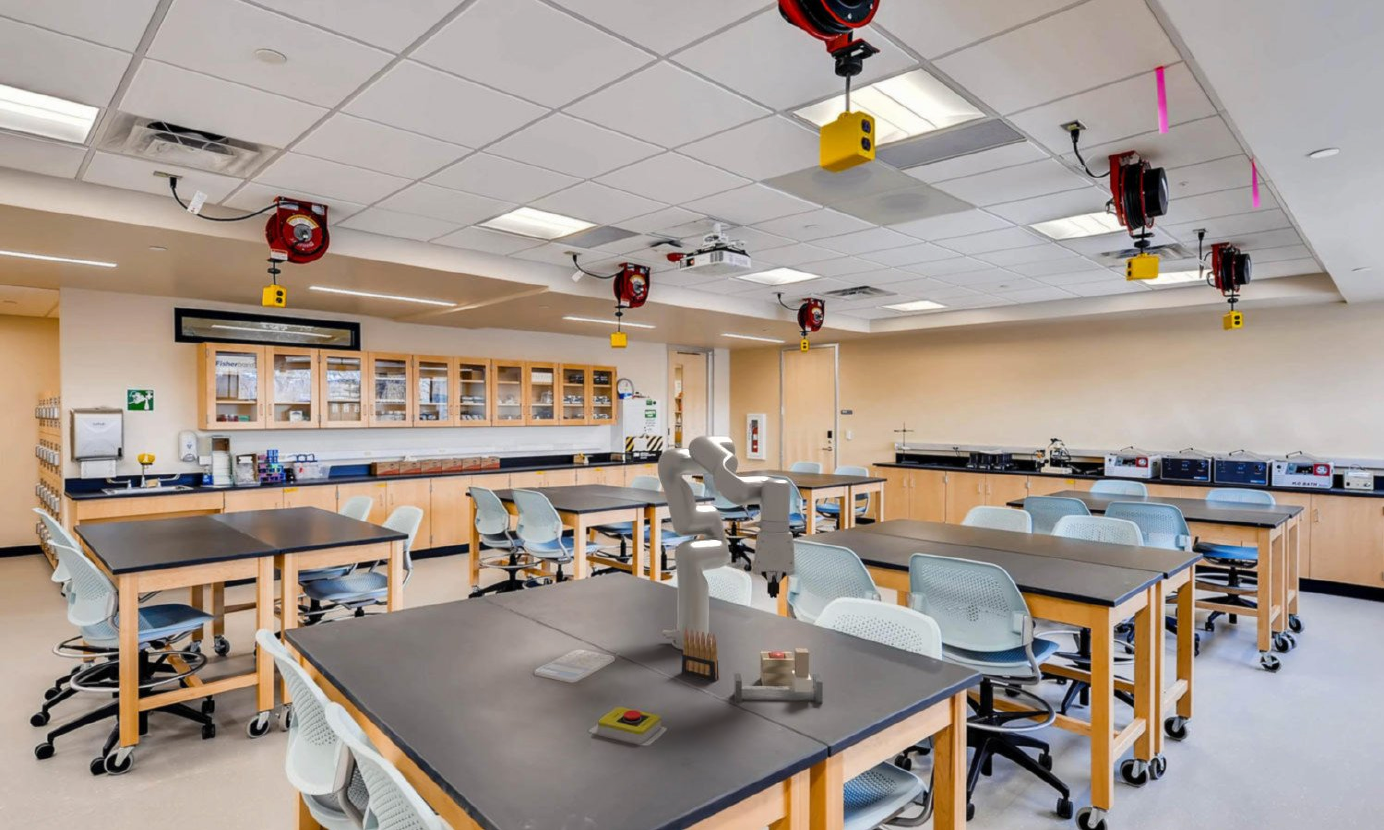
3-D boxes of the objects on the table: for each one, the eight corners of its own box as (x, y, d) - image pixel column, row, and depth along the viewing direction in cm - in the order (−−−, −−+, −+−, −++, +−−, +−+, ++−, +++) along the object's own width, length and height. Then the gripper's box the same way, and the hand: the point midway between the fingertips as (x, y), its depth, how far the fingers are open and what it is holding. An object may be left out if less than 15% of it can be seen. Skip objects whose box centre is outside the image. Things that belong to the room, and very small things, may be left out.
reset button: (770, 670, 176) (771, 655, 176) (769, 665, 180) (769, 651, 180) (784, 670, 176) (785, 655, 176) (783, 665, 180) (783, 651, 180)
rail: (735, 701, 165) (735, 680, 165) (734, 693, 170) (734, 673, 170) (822, 702, 165) (822, 681, 165) (818, 694, 170) (818, 674, 170)
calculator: (616, 661, 194) (616, 655, 194) (573, 685, 176) (573, 677, 176) (577, 654, 200) (577, 647, 200) (532, 676, 182) (532, 669, 182)
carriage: (795, 691, 165) (795, 654, 165) (791, 682, 171) (791, 646, 171) (811, 692, 165) (811, 654, 165) (807, 682, 171) (807, 646, 171)
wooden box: (762, 686, 175) (762, 659, 175) (760, 678, 181) (760, 651, 181) (794, 687, 175) (794, 659, 175) (790, 678, 181) (791, 651, 181)
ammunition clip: (718, 679, 180) (719, 633, 180) (715, 681, 178) (715, 635, 178) (685, 671, 186) (685, 626, 186) (681, 673, 184) (681, 628, 184)
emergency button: (648, 727, 142) (587, 714, 148) (647, 749, 142) (587, 734, 148) (668, 711, 150) (610, 698, 157) (668, 731, 150) (610, 718, 157)
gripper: (747, 528, 176) (745, 599, 176) (805, 529, 176) (803, 601, 176) (745, 523, 184) (743, 592, 184) (801, 525, 183) (799, 593, 183)
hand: (773, 596), depth 180 cm, fingers closed
